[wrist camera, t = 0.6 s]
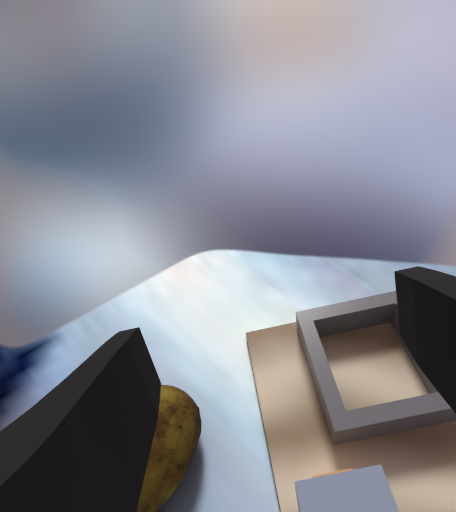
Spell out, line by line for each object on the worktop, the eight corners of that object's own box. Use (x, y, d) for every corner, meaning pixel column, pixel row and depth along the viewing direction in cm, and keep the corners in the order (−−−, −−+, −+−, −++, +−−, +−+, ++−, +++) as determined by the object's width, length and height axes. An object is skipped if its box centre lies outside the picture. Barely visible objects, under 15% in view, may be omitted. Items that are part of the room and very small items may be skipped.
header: (460, 419, 23) (473, 403, 21) (333, 445, 23) (335, 431, 21) (396, 307, 29) (401, 287, 27) (296, 328, 29) (295, 310, 27)
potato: (231, 525, 21) (201, 497, 16) (12, 610, 20) (-105, 613, 15) (199, 394, 27) (169, 337, 21) (28, 455, 26) (-51, 413, 20)
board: (567, 616, 17) (573, 616, 16) (311, 664, 17) (311, 666, 17) (391, 306, 29) (392, 301, 29) (246, 336, 30) (245, 332, 29)
